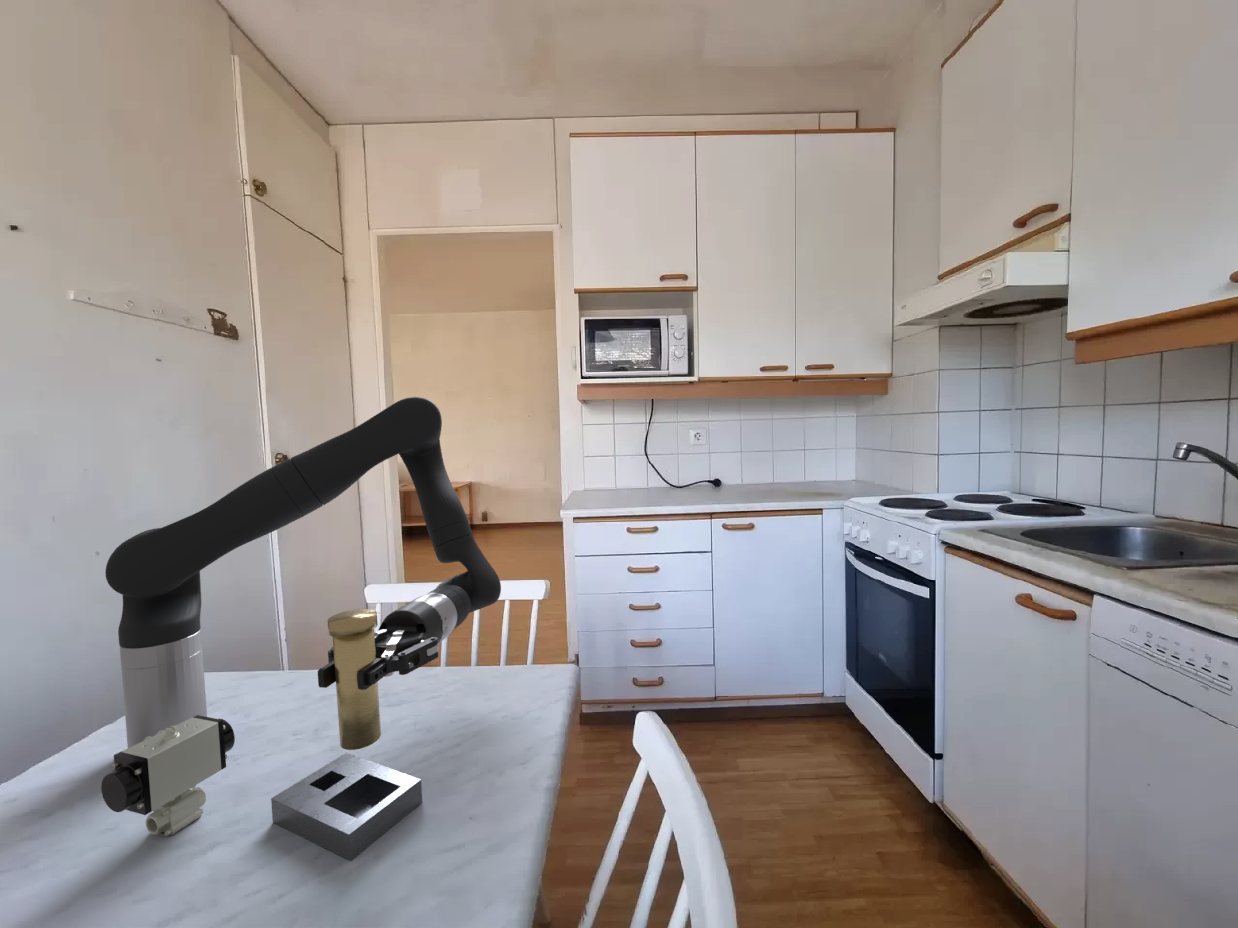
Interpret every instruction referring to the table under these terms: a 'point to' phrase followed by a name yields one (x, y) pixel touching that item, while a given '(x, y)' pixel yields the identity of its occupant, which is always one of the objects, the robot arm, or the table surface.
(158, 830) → the pneumatic valve
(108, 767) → the table surface
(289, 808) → the plate
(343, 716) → the brass headed pin
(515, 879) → the table surface
